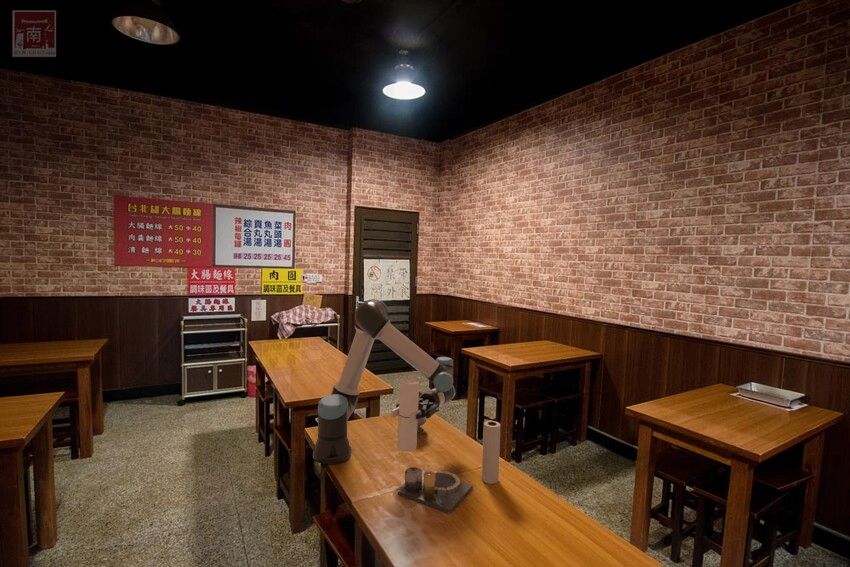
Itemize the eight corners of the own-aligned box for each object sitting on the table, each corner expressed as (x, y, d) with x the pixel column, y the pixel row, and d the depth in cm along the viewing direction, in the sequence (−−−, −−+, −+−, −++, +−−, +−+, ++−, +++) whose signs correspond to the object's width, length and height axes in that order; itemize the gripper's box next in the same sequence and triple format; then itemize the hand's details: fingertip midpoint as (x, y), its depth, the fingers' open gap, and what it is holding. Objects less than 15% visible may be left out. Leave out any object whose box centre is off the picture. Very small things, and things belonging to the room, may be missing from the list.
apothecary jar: (396, 433, 193) (397, 395, 192) (405, 424, 204) (406, 388, 203) (421, 437, 189) (422, 398, 188) (429, 427, 201) (430, 390, 200)
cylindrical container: (393, 448, 154) (396, 381, 153) (403, 441, 161) (406, 377, 159) (410, 453, 151) (413, 385, 150) (419, 445, 157) (422, 380, 156)
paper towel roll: (498, 485, 150) (500, 427, 149) (481, 483, 151) (483, 425, 150) (498, 475, 157) (500, 419, 156) (482, 473, 158) (484, 418, 157)
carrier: (396, 494, 143) (397, 470, 142) (425, 470, 160) (425, 449, 159) (450, 513, 133) (450, 488, 132) (474, 486, 149) (475, 463, 149)
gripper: (453, 414, 166) (424, 433, 146) (410, 404, 176) (378, 420, 156) (454, 395, 165) (425, 412, 146) (411, 386, 175) (378, 401, 156)
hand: (401, 416), depth 151 cm, fingers closed on cylindrical container, 7 cm apart
